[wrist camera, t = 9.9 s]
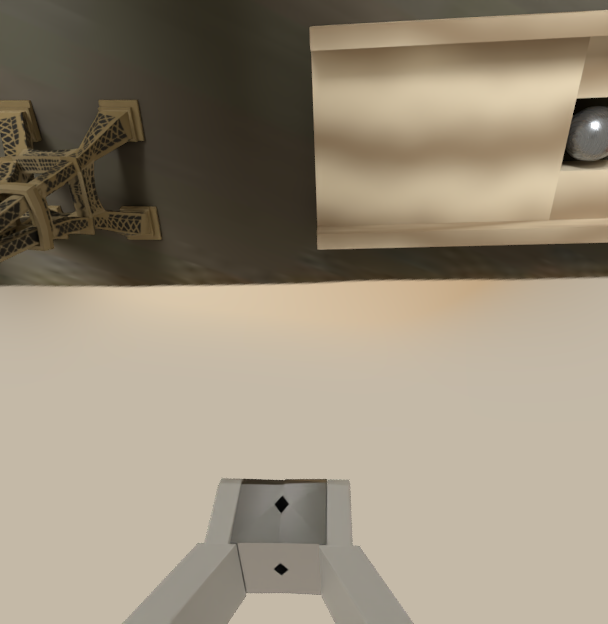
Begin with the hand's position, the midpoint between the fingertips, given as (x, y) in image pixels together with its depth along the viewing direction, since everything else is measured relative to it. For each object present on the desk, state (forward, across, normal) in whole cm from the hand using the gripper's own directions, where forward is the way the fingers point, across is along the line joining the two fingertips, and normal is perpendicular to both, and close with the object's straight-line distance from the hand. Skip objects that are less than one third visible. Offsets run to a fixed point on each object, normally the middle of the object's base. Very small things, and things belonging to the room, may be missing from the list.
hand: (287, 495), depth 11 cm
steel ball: (+27, -18, -2) cm, 33 cm away
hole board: (+29, -13, -2) cm, 32 cm away
